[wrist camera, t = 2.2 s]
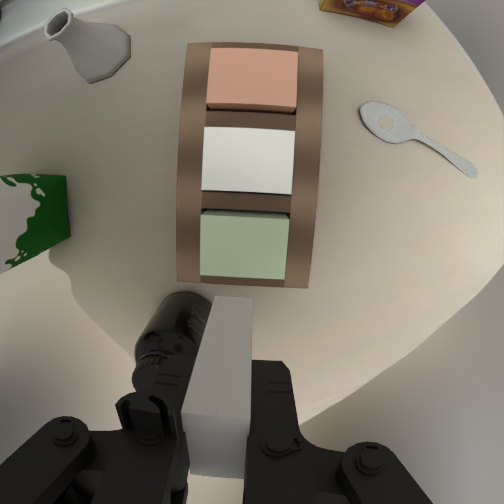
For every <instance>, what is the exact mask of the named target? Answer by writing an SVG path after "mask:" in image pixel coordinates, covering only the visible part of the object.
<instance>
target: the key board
mask: <svg viewBox="0 0 504 504" xmlns="http://www.w3.org/2000/svg"><path fill="white" fill-rule="evenodd" d="M211 48H252V49H270V50H283V51H293V52H298V72H297V101H296V108H295V110H294V111H293V113H292V114H291V115H284V114H271V113H255V112H227V111H211V109H210V108H209V106H208V105H207V103H206V98H207V86H208V74H209V63H210V53H211ZM322 96H323V50H321V49H314V48H307V47H298V46H289V45H278V44H264V43H240V42H213V43H188V45H187V53H186V62H185V71H184V81H183V91H182V103H181V116H180V130H179V147H178V169H177V209H176V251H177V281H180V282H194V283H210V284H226V285H244V286H264V287H286V288H308V282H309V274H310V265H311V256H312V247H313V237H314V227H315V216H316V204H317V192H318V178H319V163H320V146H321V125H322ZM204 127H234V128H257V129H273V130H286V131H295V143H294V161H293V177H292V192H291V194H279V193H263V192H244V191H221V190H201V188H202V163H203V144H204ZM208 208H212V209H235V210H255V211H272V212H285V214H286V216H287V217H288V218H289V232H288V244H287V256H286V267H285V278H284V279H263V278H244V277H226V276H209V275H200V224H201V214H203V213H204V212H205V211H206V210H207V209H208Z"/></svg>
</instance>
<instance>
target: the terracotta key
mask: <svg viewBox="0 0 504 504" xmlns="http://www.w3.org/2000/svg"><path fill="white" fill-rule="evenodd" d="M297 72H298V52H293V51H283V50H270V49H252V48H211V53H210V63H209V74H208V86H207V98H206V103H207V105H208V106H209V108H210V109H211V111H227V112H255V113H271V114H284V115H291V114H292V113H293V111H294V110H295V108H296V101H297Z"/></svg>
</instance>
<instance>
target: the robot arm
mask: <svg viewBox="0 0 504 504" xmlns="http://www.w3.org/2000/svg"><path fill="white" fill-rule="evenodd" d="M0 17H1V9H0ZM252 299H253V298H250V297H233V296H217V295H215V298H214V301H213V304H212V308H211V311H210V314H209V318H208V321H207V324H206V328H205V331H204V334H203V338H202V341H201V344H200V348H199V351H198V354H197V357H193V356H183V355H175V354H172V355H171V356H170V357H168V358H167V359H166V360H165V361H164V362H162V364H161V367H160V369H159V371H158V375H157V376H156V378H155V380H154V384H153V385H152V387H151V389H150V391H137V392H133V393H129V394H127V395H125V396H123V397H122V398H120V400H119V401H118V402H117V403H116V404H115V406H116V409H117V413H118V416H119V419H120V422H121V425H122V428H123V429H120V430H114V431H89V430H88V428H87V425H86V424H84V423H83V422H82V421H81V420H80V419H77V418H74V417H68V416H62V417H58V418H54V419H52V420H51V421H49V422H47V423H46V424H45V425H44V426H43V427H42V428H41V429H39V430H38V431H37V432H36V433H35V434H34V435H33V436H32V437H31V438H30V439H28V440H27V441H26V442H25V443H24V444H23V445H22V446H21V447H19V448H18V449H17V450H16V451H15V452H14V453H13V454H12V455H11V456H9V458H7V459H6V460H5V461H4V462H3V463H2V464H1V465H0V504H186V500H187V494H188V483H187V476H188V471H189V468H190V473H191V474H194V475H202V476H211V477H223V478H238V479H244V492H243V503H242V504H433V503H432V502H431V500H430V499H429V498H428V497H427V495H426V494H425V493H424V492H423V491H422V489H421V488H420V486H419V485H418V484H417V483H416V481H415V480H414V479H413V477H412V476H411V475H410V474H409V472H408V471H407V470H406V468H405V467H404V466H403V464H402V463H401V462H400V461H399V459H398V458H397V457H396V455H395V454H394V453H393V452H392V451H391V450H390V449H389V448H387V447H386V446H384V445H381V444H379V443H374V442H363V443H357V444H355V445H353V446H351V447H349V448H348V449H347V451H346V452H339V451H333V450H328V449H323V448H320V447H316V446H315V445H313V444H311V443H310V442H308V441H307V440H306V439H305V438H304V437H303V435H302V434H301V432H300V429H299V425H298V419H297V412H296V406H295V400H294V393H293V387H292V381H291V375H290V370H289V369H288V368H287V367H286V365H285V364H284V363H283V362H282V361H267V360H252Z"/></svg>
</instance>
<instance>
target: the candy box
mask: <svg viewBox="0 0 504 504" xmlns="http://www.w3.org/2000/svg"><path fill="white" fill-rule="evenodd" d="M424 1H425V0H320V9H321V10H325V11H331V12H337V13H342V14H347V15H351V16H355V17H359V18H363V19H367V20H370V21H374V22H377V23H381V24H384V25H387V26H390V27H394V26H396V25H397V24H398V23H399V22H400V21H401V20H402V19H404V18H405V17H406V16H407V15H408V14H409V13H411V12H412V11H413V10H414V9H416V8H417V7H418V6H419V5H420V4H422V3H423V2H424Z"/></svg>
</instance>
